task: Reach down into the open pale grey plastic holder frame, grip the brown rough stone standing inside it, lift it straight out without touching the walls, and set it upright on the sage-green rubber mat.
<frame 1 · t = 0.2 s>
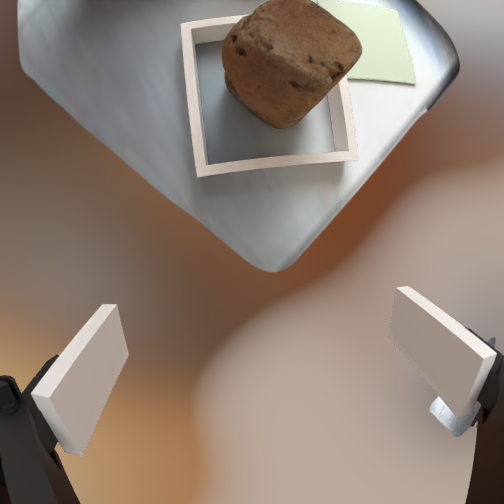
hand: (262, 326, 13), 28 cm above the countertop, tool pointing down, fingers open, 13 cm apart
mat: (368, 40, 34), on the countertop
brown rough stone: (265, 93, 36), resting in holder
holder: (265, 93, 36), on the countertop
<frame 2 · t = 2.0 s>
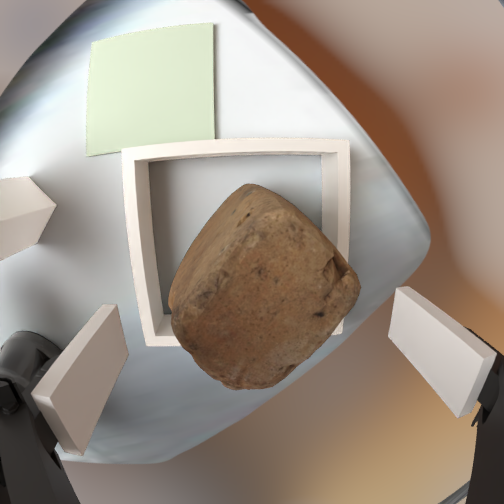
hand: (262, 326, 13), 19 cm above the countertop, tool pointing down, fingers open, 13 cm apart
milk: (32, 209, 29), on the countertop
mat: (147, 85, 27), on the countertop
brown rough stone: (238, 237, 32), resting in holder
holder: (238, 237, 32), on the countertop
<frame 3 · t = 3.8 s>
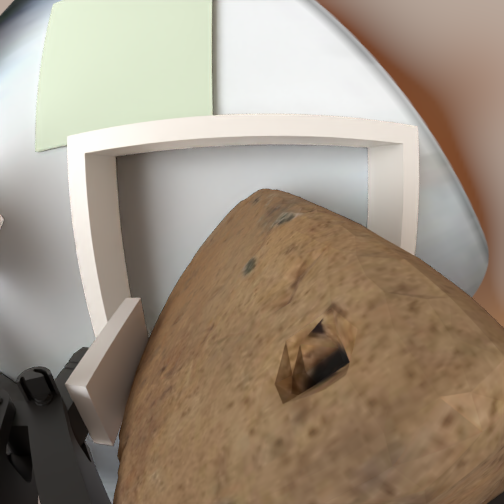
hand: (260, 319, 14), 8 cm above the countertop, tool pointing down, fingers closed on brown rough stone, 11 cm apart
mat: (118, 49, 17), on the countertop
brown rough stone: (247, 266, 22), resting in holder, touching gripper
holder: (248, 267, 22), on the countertop
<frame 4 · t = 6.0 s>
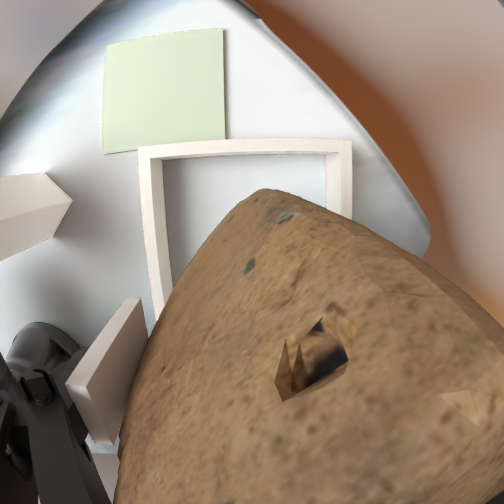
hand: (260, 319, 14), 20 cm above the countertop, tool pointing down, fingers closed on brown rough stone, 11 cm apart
milk: (48, 204, 31), on the countertop
mat: (161, 87, 29), on the countertop
brown rough stone: (247, 266, 22), point 12 cm above the countertop, touching gripper
holder: (247, 231, 33), on the countertop
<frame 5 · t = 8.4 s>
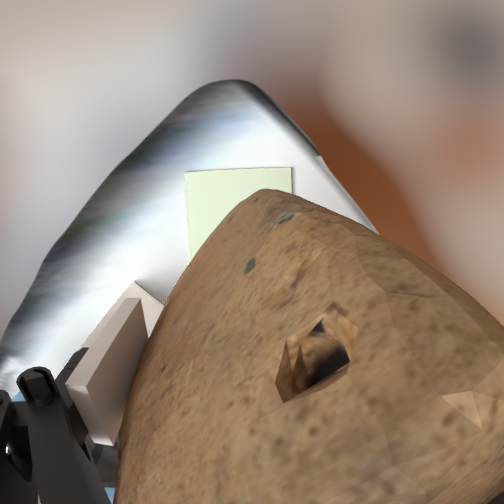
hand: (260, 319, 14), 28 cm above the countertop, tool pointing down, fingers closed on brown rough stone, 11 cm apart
milk: (138, 306, 43), on the countertop
mat: (239, 221, 41), on the countertop
brown rough stone: (247, 266, 22), point 20 cm above the countertop, touching gripper
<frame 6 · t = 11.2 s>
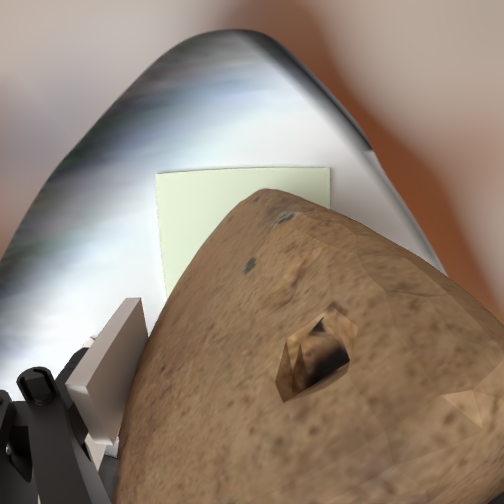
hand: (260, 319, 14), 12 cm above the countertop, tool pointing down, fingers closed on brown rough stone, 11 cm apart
milk: (101, 368, 28), on the countertop
mat: (246, 253, 25), on the countertop
brown rough stone: (247, 265, 22), point 4 cm above the countertop, touching gripper
when the fingers open (10 cm above the countertop, at t = 12.8 s): brown rough stone drops 1 cm, resting on mat.
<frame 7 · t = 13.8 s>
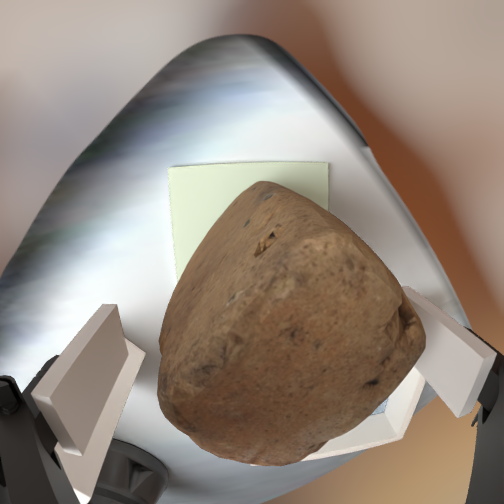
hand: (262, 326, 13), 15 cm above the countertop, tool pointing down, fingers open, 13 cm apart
milk: (113, 351, 30), on the countertop
mat: (251, 241, 27), on the countertop
brown rough stone: (249, 243, 27), resting on mat
holder: (332, 379, 32), on the countertop
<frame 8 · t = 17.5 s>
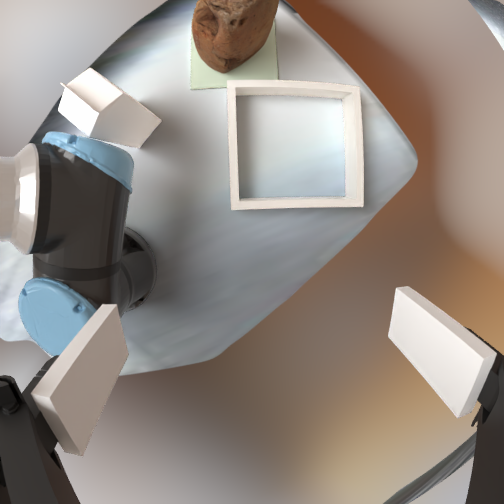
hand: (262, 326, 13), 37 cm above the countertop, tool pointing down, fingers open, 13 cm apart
milk: (138, 124, 44), on the countertop
mat: (233, 50, 41), on the countertop
brown rough stone: (232, 50, 41), resting on mat
holder: (292, 145, 46), on the countertop
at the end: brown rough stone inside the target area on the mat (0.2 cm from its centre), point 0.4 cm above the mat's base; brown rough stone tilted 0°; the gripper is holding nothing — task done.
